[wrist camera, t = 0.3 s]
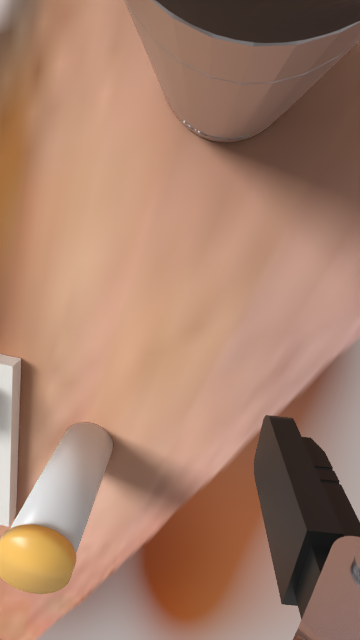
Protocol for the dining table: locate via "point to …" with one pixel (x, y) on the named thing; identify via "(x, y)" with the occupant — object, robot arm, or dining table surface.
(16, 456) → the panel
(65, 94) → the dining table surface
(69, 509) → the post
